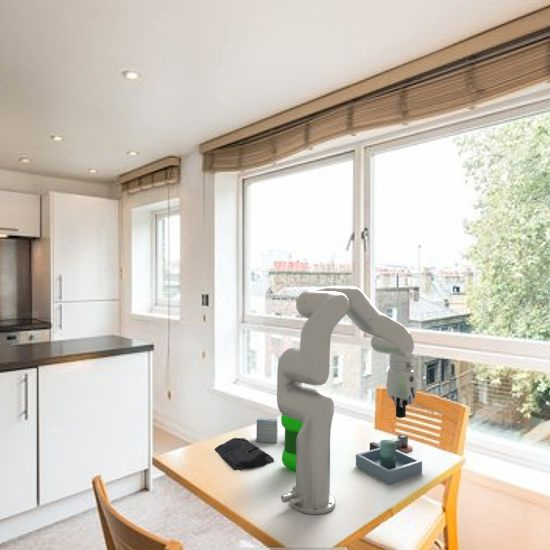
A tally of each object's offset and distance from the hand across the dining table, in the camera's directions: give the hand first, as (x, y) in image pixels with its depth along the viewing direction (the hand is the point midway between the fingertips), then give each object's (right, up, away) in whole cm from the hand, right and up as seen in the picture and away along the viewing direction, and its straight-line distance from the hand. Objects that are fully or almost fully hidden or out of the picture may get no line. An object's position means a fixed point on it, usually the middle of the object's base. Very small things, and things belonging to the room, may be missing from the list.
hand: (400, 416), depth 151 cm
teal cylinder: (-7, -13, -11) cm, 18 cm away
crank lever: (-2, -14, +4) cm, 14 cm away
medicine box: (-48, -14, +14) cm, 52 cm away
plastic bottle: (-38, -14, -10) cm, 42 cm away
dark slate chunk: (-56, -15, 0) cm, 58 cm away
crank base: (+3, -14, +7) cm, 16 cm away
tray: (-7, -14, -10) cm, 19 cm away
